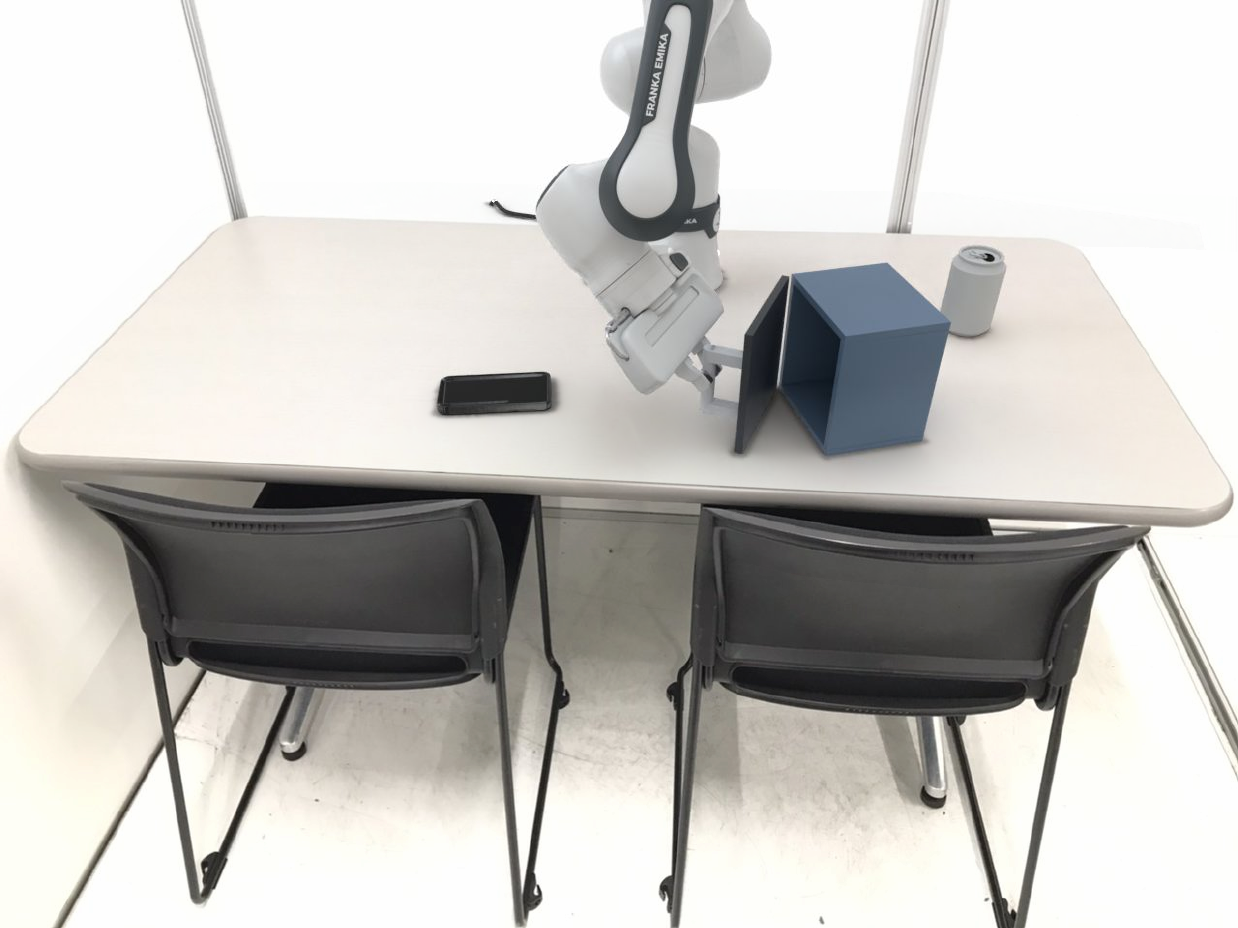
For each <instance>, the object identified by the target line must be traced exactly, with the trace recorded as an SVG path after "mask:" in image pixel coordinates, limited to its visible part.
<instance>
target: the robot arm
mask: <svg viewBox="0 0 1238 928" xmlns="http://www.w3.org/2000/svg"><path fill="white" fill-rule="evenodd" d="M642 10H643V26H639V27H636V28H634V29H631V30H628V31H625V32H622V33H620V34H618V35H617V34H616V35H614V36H612V37H611V38H610V39H609V40H608V42H607V43H606V45H605V47H604V49H603V51H602V54H601V57H600V63H599V78H600V83H601V86H602V88H603V89H602V90H603V91H604V93H605V95H606V97H607V98H608V100H609V101H610V102H611V103H612V104H613V105H614V106H615V107H616V108H617V109H619V110H621V111H622V112H623V113H624V114H626V115H627V116H628V123H627V124H626V125H627V126H626V129H625V132H624V134H623V136H622V138H621V139H620V141H619V143H618V144H617V146H616V147H615V149H614V150H613V152H612V153H611V155H610V156H609V157H607V158H603V159H599V160H596V161H591V162H584V163H569V164H568V165H566V166H564V167H563V168H562V169H560V171H558V173H557V174H556V175H555V176H554V177H553V178H552V179H551V180H550V181H549V182H548V184H547V185H546V187H545V188H544V190H543V191H542V193H541V194H540V196H539V198H538V200H537V202H536V206H535V214H534V213H533V214H532V213H525V212H519V211H513V210H509V209H507V208H505V207H504V206H502V204H501V203H500V202H499V201H498V200H497V201H495V202H494V203H493V202H492V200H491V201H489V203H488V205H489V206H494V205H495V206H496V207H497V209H498V210H499V211H501V212H502V213H503V214H505V215H507V216H512V217H518V218H525V219H531V220H536V222H537V224H538V226H539V228H540V230H541V232H542V234H543V235H544V237H545V238H546V239H547V241H548V243H549V244H550V245H551V246H552V248H553V249H554V250H555V252H556V254H558V256H559V257H560V258H561V259H562V260H563V262H564V263H565V264H566V266H568V268H569V269H570V270H571V271H572V272H574V273H576V274H577V275H578V276H580V277H581V278H582V280H584V281H585V283H586V285H587V286H588V289H589V291H590V293H591V295H592V296H593V297H594V299H595V300H596V301H597V302H598V304H599V305H600V306H601V307H602V308H603V309H604V310H605V312H606V313H607V314H608V316H610V318H611V319H612V320H610V321H609V322H608V323H607V324H606V326H605V327H604V329H605V330H604V331H605V343H606V345H607V347H608V348H609V349H610V351H611V354H612V357H613V358H614V360H615V362H616V363H617V365H618V366H619V368H620V369H621V371H622V373H624V375H625V377H626V378H627V379H628V381H629V382H630V383H631V385H632V386H633V387H634V388H635V390H636V391H637V392H638V393H641V394H643V395H645V396H648V395H650V394H652V393H654V392H655V391H657V390H659V389H660V388H662V387H663V386H665V384H667V382H668V381H669V380H670V378H671V377H672V376H673V375H674V374H675V375H676V376H677V377H678V378H680V379H682V380H684V381H687V382H689V383H691V384H692V385H693V386H694V388H695V389H696V390H697V391H698V392H700V393H701V392H703V391H705V390H706V389H708V388H709V387H710V385H711V384H712V382H713V378H712V377H711V376H710V375H709V373H708V372H707V371H706V370H705V371H703V372H702V368H701V369H698V368H697V367H695V366H694V365H693V364H694V361H693V360H692V359H691V358H690V356H689V355H690V354H691V353H692V355H694V356H695V355H696V356H697V358H698V360H699V362H700V365H701V366H702V365H703V347H704V346H705V345H708V344H712V343H711V341H710V340H709V339H708V337H707V336H706V335H707V334H708V332H709V331H710V330H711V328H713V326H714V325H715V324H716V323H717V321H718V320H719V319H720V317H722V315H723V314H724V312H725V308H724V305H723V301H722V299H721V297H720V296H719V295H718V293H717V292H716V290H718V288H720V287H721V286H722V284H723V282H724V276H723V271H722V269H721V263H720V257H719V256H720V250H719V247H718V244H719V243H718V233H719V230H720V225H721V212H722V211H721V210H722V209H721V208H722V207H721V195H720V193H719V183H720V182H719V181H720V180H719V179H720V163H721V151H720V147H719V144H718V142H717V141H716V139H715V138H714V136H713V135H711V134H710V133H709V132H708V131H705V130H704V129H702V128H701V127H698V126H696V125H694V124H691V123H692V118H693V114H694V108H695V105H702V104H708V103H714V102H723V101H729V100H732V99H733V100H734V99H735V98H738V97H741V96H744V95H746V94H749V93H751V92H753V91H755V90H758V89H759V88H761V87H762V86H763V84H764V83H765V81H766V79H767V78H768V75H769V72H770V69H771V65H772V61H773V60H772V59H773V58H772V56H773V54H772V53H773V52H772V45H771V42H770V38H769V36H768V33H767V32H766V30H765V29H764V28H763V26H762V25H761V24H760V22H758V21H757V20H756V19H755V18H754V17H753V16H752V14H751V12H750V11H749V8H748V5H747V1H746V0H642ZM722 371H723V365H718V364H716V371H715V378H717V377H718V376H719V375H720V374H721V372H722Z"/></svg>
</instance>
